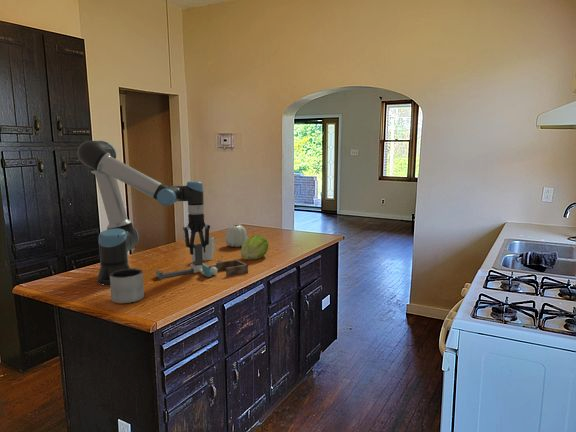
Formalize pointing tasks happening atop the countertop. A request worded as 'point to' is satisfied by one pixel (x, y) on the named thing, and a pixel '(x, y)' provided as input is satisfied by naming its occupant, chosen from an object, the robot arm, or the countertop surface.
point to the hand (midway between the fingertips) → (197, 259)
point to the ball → (213, 270)
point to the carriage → (200, 262)
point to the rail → (176, 272)
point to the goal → (232, 267)
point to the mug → (209, 249)
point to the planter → (127, 285)
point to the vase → (236, 236)
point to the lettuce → (254, 247)
